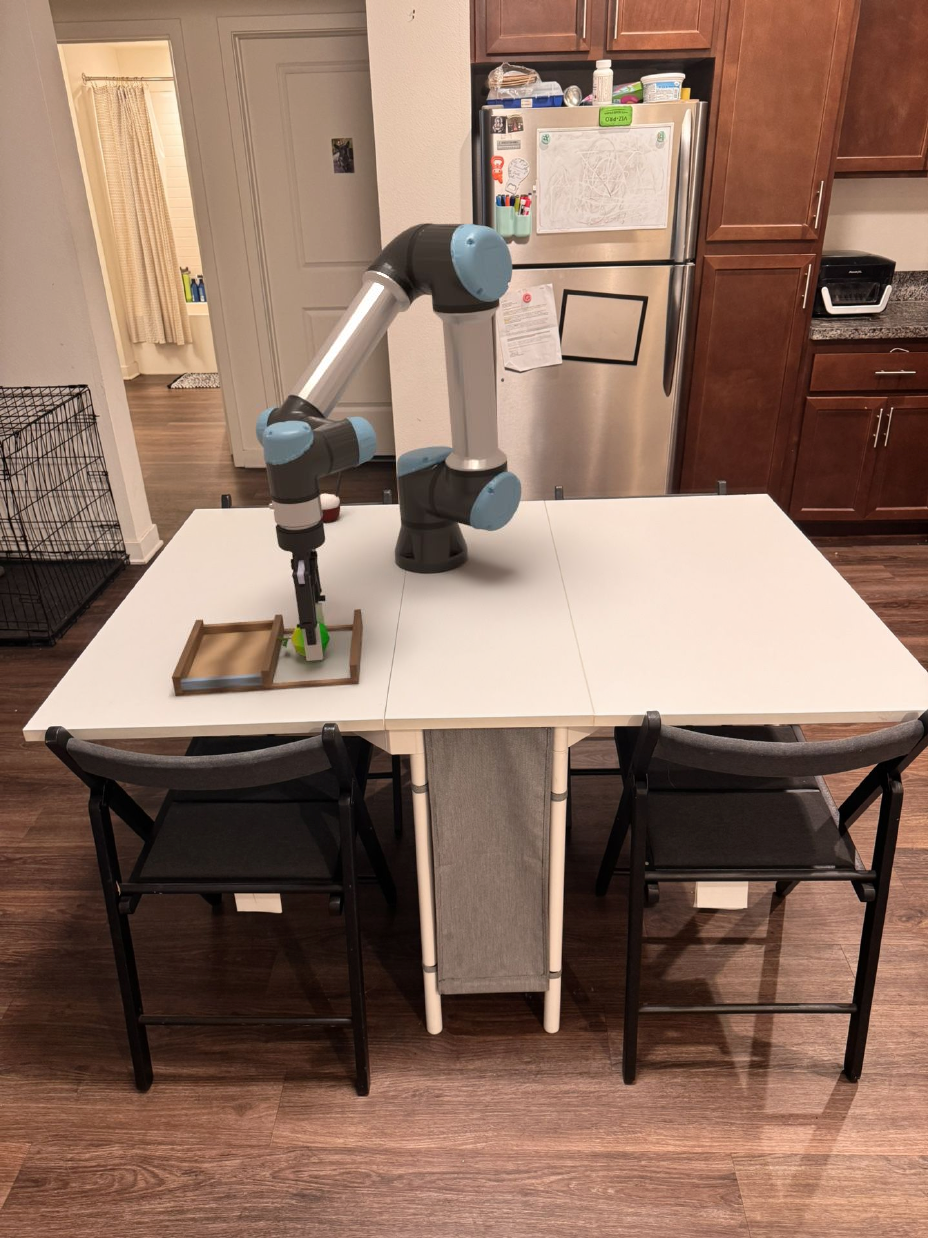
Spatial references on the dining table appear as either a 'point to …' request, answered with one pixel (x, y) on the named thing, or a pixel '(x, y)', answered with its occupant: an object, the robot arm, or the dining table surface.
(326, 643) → the apple
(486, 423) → the robot arm
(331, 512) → the cocoa
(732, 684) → the dining table surface
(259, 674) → the frame
